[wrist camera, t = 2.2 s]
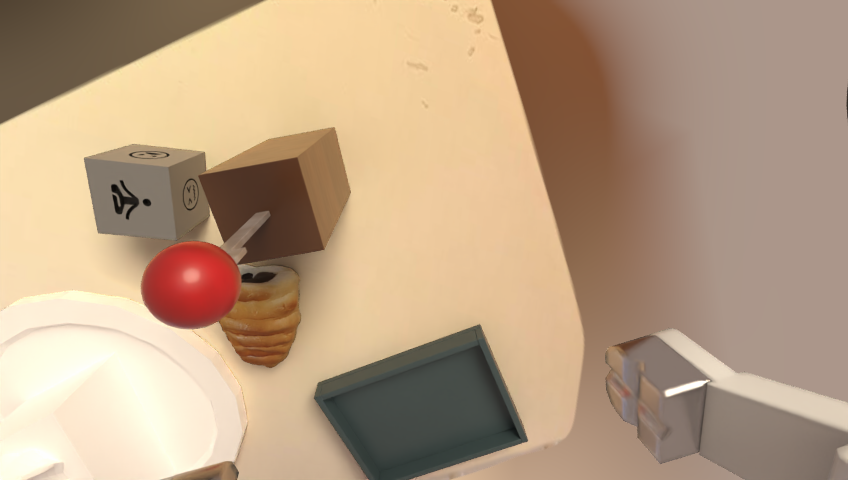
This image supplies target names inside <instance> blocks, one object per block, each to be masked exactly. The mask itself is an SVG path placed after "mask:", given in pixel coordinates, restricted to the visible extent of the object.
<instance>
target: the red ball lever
mask: <svg viewBox="0 0 848 480" xmlns="http://www.w3.org/2000/svg"><path fill="white" fill-rule="evenodd" d="M198 178H199V180H200V183H201V185H202V188H203V190H204V193H205V195H206V198H207V201H208V203H209V206H210V208H211V211H212V213H213V216H214V218H215V221H216V223H217V226H218V229H219V231H220V234H221V236H222V239H223V241H224V244H223V245H222V246H221V247H218V246H216V245H213V244H210V243H206V242H200V241H188V242H181V243H177V244H174V245H172V246H169V247H168V248H166V249H164V250H162V251H161V252H160V253H158V254H157V255H156V256H155V257H154V258H153V259H152V260H151V261H150V263H149V264H148V266H147V267H146V269H145V271H144V274H143V276H142V281H141V294H142V298H143V301H144V304H145V306H146V307H147V309H148V310H149V312H150V313H151V314H152V315H153V316H154V317H155V318H156V319H157V320H159V321H160V322H162V323H164V324H166V325H168V326H171V327H174V328H179V329H199V328H203V327H207V326H210V325H212V324H214V323H216V322H218V321H219V320H221V319H222V318H224V317H225V316H226V315H227V314H228V313H229V312H230V311H231V310H232V309H233V307H234V306H235V304H236V302H237V300H238V298H239V295H240V292H241V284H242V283H241V274H240V271H239V268H238V266H237V265H240V264H246V263H252V262H258V261H263V260H269V259H275V258H280V257H286V256H292V255H298V254H303V253H309V252H315V251H321V250H324V249H325V247H326V245H327V243H328V240H329V238H330V236H331V234H332V232H333V230H334V227H335V225H336V223H337V221H338V219H339V217H340V214H341V212H342V210H343V208H344V206H345V204H346V202H347V199H348V197H349V195H350V193H351V191H350V187H349V183H348V179H347V175H346V171H345V167H344V163H343V159H342V155H341V151H340V147H339V143H338V139H337V135H336V131H335V128H334V127H333V128H327V129H322V130H317V131H311V132H306V133H300V134H295V135H289V136H284V137H279V138H273V139H268V140H266V141H264V142H262V143H260V144H258V145H256V146H254V147H252V148H251V149H249V150H247V151H245V152H243V153H241V154H239V155H237V156H235V157H233V158H231V159H229V160H227V161H225V162H223V163H221V164H219V165H217V166H215V167H213V168H211V169H209V170H207V171H205V172H204V173H202V174H200V175H198Z"/></svg>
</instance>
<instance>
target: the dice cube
mask: <svg viewBox="0 0 848 480" xmlns="http://www.w3.org/2000/svg"><path fill="white" fill-rule="evenodd" d="M84 162H85V167H86V172H87V178H88V183H89V188H90V193H91V199H92V204H93V209H94V214H95V220H96V225H97V230H98V233H102V234H113V235H124V236H134V237H145V238H155V239H166V240H176V241H177V240H178V239H179V238H181V237H182V236H183V235H185V234H186V233H187V232H189V231H190V230H191V229H193V228H194V227H196V226H197V225H198V224H200V223H201V222H202V221H204V220H205V219H206V218H208V217H209V216H210V214H209V203H208V201H207V198H206V195H205V193H204V190H203V188H202V185H201V183H200V180H199V178H198V175H200V174H202V173H204V172H205V171H206V163H205V152H200V151H191V150H182V149H173V148H164V147H155V146H146V145H137V144H132V145H129V146H125V147H121V148H118V149H114V150H110V151H107V152H103V153H100V154H96V155H92V156H89V157H85V158H84Z"/></svg>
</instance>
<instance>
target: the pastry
mask: <svg viewBox="0 0 848 480" xmlns="http://www.w3.org/2000/svg"><path fill="white" fill-rule="evenodd" d="M237 266H238V268H239V271H240V274H241V283H242V284H241V292H240V295H239V298H238V300H237V302H236V304H235V306H234V307H233V309H232V310H231V311H230V312H229V313H228V314H227V315H226V316H225V317H224V318H222V319H221V320H219V322H220V324H221V326H222V330H223V331H224V332H225V333H226V335H227V338H228V340H229V341H230V342H231V343H232V346H233V347H234V349H235V351H236V353H237V354H239V355H240V357H241V358H242V360H243V361H245V362H247V363H251V364H256V365H264V366H266V367H269V368H272V367H274V366H276V365H277V364H278V363H280V362H281V361H283V360H284V359H285V358H286V357H287V355H288V353H289V350H290V348H291V345H292V343H293V342H294V340H295V336H296V330H297V326H298V324H299V323H300V321H301V314H300V312H299V303H298V302H299V295H300V294H299V282H300V279H299V276H298V274H297V273H296V272H294V271H293V270H292V269H291V268H288V267H282V266H275V265H271V266H261V267H253V266H251V265H244V264H240V265H237Z"/></svg>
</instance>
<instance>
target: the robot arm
mask: <svg viewBox="0 0 848 480" xmlns="http://www.w3.org/2000/svg"><path fill="white" fill-rule="evenodd" d="M605 360H606V363H607V364H608V365H609V366H610V368H611V370H610V372H609V374H608V375H607V377H606V390H607V393H608V396H609V399H610V402H611V404H612V405H613V407H614V409H615V410H616V412H617V413H618V414H619V416H620V417H621V418H622V419H623V421H625V422H628V423H630V424H632V425H634V426H637V433H638V438H639V439H640V441H641V442H642V443H643V444H644V446H645V447H646V448H647V449H648V450H649V451H650V453H651V454H652V455H653V456H654V457H655V458H656V460H657V461H658V462H659V463H660V464H662V463H665V462H668V461H672V460H675V459H678V458H682V457H685V456H688V455H691V454H695V453H698V452H699V455H701V456H703V457H704V458H706V459H708V460H710V461H712V462H714V463H716V464H717V465H719V466H721V467H723V468H725V469H727V470H728V471H730V472H732V473H734V474H736V475H737V476H739V477H741V478H743V479H745V480H848V403H847V402H844V401H840V400H837V399H834V398H830V397H827V396H824V395H820V394H817V393H814V392H810V391H807V390H804V389H800V388H797V387H794V386H790V385H787V384H783V383H780V382H776V381H773V380H770V379H767V378H763V377H760V376H756V375H753V374H750V373H746V372H742V373H739V374H737V373H736V372H734V371H733V370H732V369H730V368H729V367H728V366H726V365H725V364H723V363H722V362H720V361H719V360H718V359H717V358H715V357H714V356H712V355H711V354H710V353H708V352H707V351H705V350H704V349H703V348H702V347H700V346H699V345H697V344H696V343H695V342H693V341H692V340H690V339H689V338H688V337H686V336H685V335H684V334H682V333H681V332H680V331H678V330H676V329H672V328H669V329H666V330H663V331H659V332H656V333H653V334H650V335H649V336H644V337H640V338H638V339H634V340H631V341H628V342H624V343H621V344H618V345H615V346H611V347H608V349H607V351H606V357H605ZM238 474H239V472H238V470H237V469H236V467H235V465H234V464H233V462H232V461H225V462H221V463H217V464H214V465H210V466H206V467H202V468H199V469H195V470H191V471H188V472H184V473H180V474H177V475H175V476H172V477H168V478H164V479H160V480H237V478H238Z"/></svg>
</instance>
